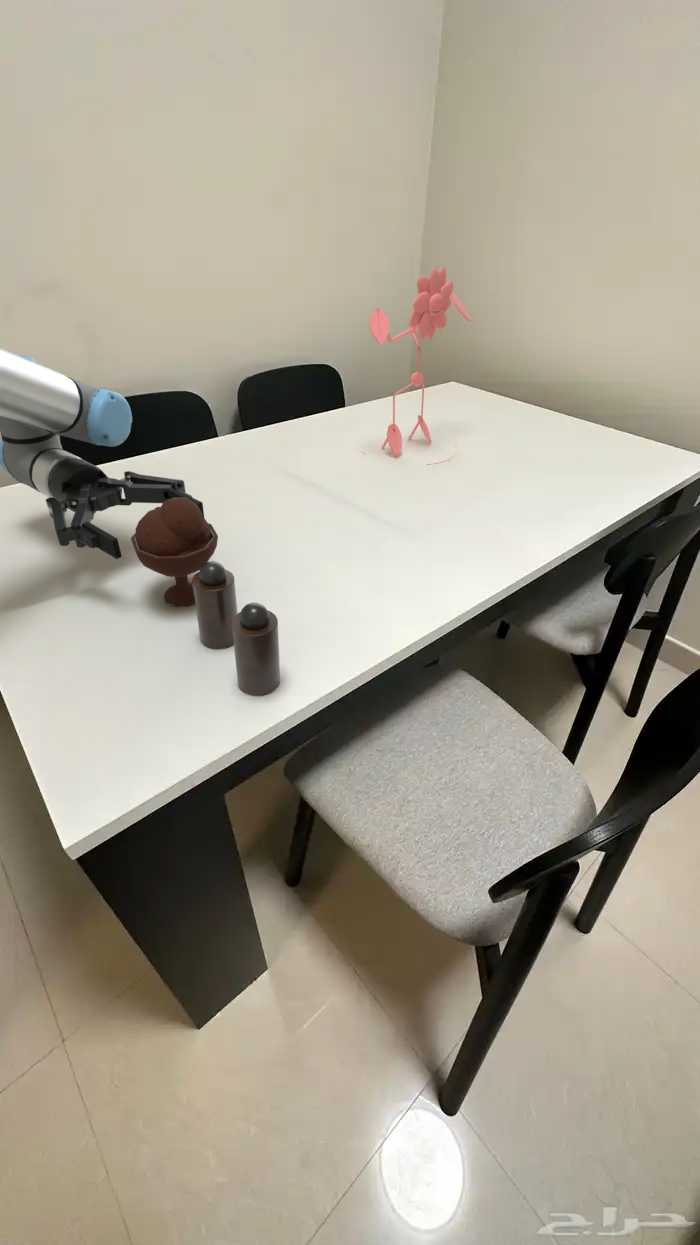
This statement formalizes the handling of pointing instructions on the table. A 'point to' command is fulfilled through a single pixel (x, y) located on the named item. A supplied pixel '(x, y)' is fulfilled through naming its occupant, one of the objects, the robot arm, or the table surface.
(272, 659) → the walnut mill near
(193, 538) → the ice cream bowl
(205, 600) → the walnut mill middle
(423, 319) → the figurine
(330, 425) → the table surface
